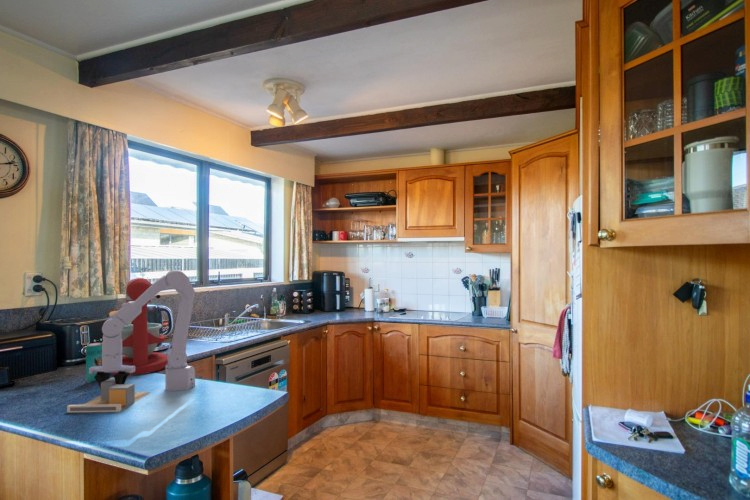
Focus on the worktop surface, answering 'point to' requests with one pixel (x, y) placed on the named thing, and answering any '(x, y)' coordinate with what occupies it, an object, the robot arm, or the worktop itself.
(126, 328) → the stand mixer
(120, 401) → the faced box
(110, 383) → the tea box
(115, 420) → the worktop surface
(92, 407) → the rail
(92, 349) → the beverage can
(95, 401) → the shelf board
